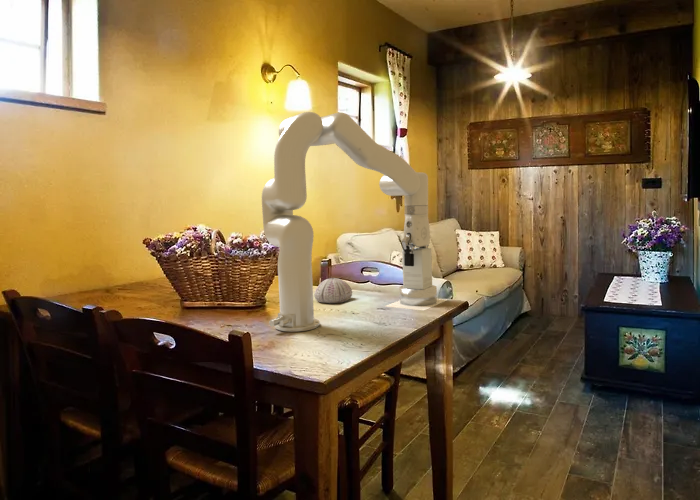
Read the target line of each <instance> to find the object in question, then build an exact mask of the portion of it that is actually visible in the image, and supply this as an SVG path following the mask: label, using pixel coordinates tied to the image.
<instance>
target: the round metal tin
mask: <svg viewBox="0 0 700 500" xmlns="http://www.w3.org/2000/svg"><path fill="white" fill-rule="evenodd" d="M437 288H438V287H437V286H436V285H433V284H432V286H431V287H428V288H425V289H412V288H403V285H401V286H399V300H400V304H403V305H407V306H429V305H434V304H436V303H437V299H438V296H437V294H438V293H437V291H438V289H437Z"/></svg>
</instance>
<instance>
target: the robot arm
mask: <svg viewBox="0 0 700 500" xmlns="http://www.w3.org/2000/svg"><path fill="white" fill-rule="evenodd" d="M278 136H279V137H278V140H277V143H276V144H275V149H274V153H273V158H274V159H273V161H274V162H273V164H274V166H273V170H274V171H273V172H274V177H273V178H270V179H269V180H268V181H267V182H266V183H265V184H264V186H263V188H262V191H261V210H262V212H261V213H262V225H263V233H264V237H265V239H266V241H268V243H269V244H270V245H272V246H274V247H277V248H279V252H278V256H277V276H278V277H277V279H278V281H277V282H278V297H279V298H278V299H279V302H278V303H279V312H278V313H277V317H276V318H272V319H270V320H269V321H268V325H269V327H272V328H273V327H274V328H275V329H276V330H277V331H281V332H287V333H292V332H293V333H294V332H297V333H298V332H305V331H310V330H311V331H312V330H314V329H316V328H318V327H320V320H318V319H317V318H315V314H314V313H315V312H314V311H315V310H314V290H313V289H314V287H313V286H314V285H313V266H312V264H313V262H312V258H313V256H312V255H313V246H314V245H313V244H314V238H315V237H314V228H313V226H312V224H311V223H310V221H309V220H308V219H306V218H305V217H303V216H301V215H297V214H294V211H296V210H299V209H301V208H302V207H303V206H304V205H305V204H306V202H307V196H308V195H307V176H306V157H307V153H308V151H309V149H310V147H319V146H327V145H328V146H329V145H332V144H333V145H334V144H335V145H336V146H337V147H339V149H341V151H343V153H344V154H346V155H347V156H348V157H349V158H350V160H352V161H353V162H354V163H355V164H356V165H357V166H360V167H361V168H365V169H367V170H371V171H375V172H378V173H380V174H383V175H382V176H381V178H380V179H379V183H378V185H379V189H380V191H381V192H382V193H383V194H384V195H387V196H389V197H390V196H391V197H396V196H397V197H399V196H404V203H403V204H404V225H403V239H401V244H402V250H404V251H403V252H404V265H405V266H414V254H412V253H413V251H414V248H429V246H430V243H431V235H430V231H431V230H430V223H429V222H430V221H429V176H428V174H427V173H426V172H422V171H421V172H417V171H416V170H415V169H414V168H413V167H412V166H411V165H410V164H409V163H408V162H407V161H406V160H405V159H404V158H403V157H401V156H400V155H398V154H396V153H395V152H393V151H391V150H389V149H387V148H386V147H384V146H382V145H380V144H379V143H377V142H376V141H375V140H374V139H373V138H372V137H371V136H370V135H369V134H368V133H367V132H366V131H365V130H364V129H363V128H362V127H361V126H360V125H359V124H358V123H357V122H356V121H355V120H354V119H353V118H352V117H351V116H349V115H348V114H347V113H344V112H335V113H331V114H328V115H324V116H320V115H319V114H318V113H316V112H314V111H306V112H305V111H304V112H301V113H298V114H295V115H291V116H290V117H287V118H285V119H284V120H283V121H281V123H280V124H279V127H278ZM410 248H411V249H410Z"/></svg>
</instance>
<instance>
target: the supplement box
mask: <svg viewBox="0 0 700 500" xmlns="http://www.w3.org/2000/svg"><path fill="white" fill-rule="evenodd" d="M410 249H411V248H410ZM403 251H404V250H403V249H402V250H401V253H402V254H401V255H402V283H403V285H402V286H403V288H412V289H425V288H428V287H431V286H432V285H433V263H432V261H433V259H432V247H428V248H419V247H415V248H414V251H413V253H412V254H414V266H405V265H404V252H403Z"/></svg>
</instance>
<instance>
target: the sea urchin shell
mask: <svg viewBox="0 0 700 500" xmlns="http://www.w3.org/2000/svg"><path fill="white" fill-rule="evenodd" d="M352 296H353V289H352V288H351V286H350V285H349V283H347V282H346V281H344V280H343V279H341V278H338V277H337V278H336V277H330V278H327V279H324V280H322V281H321V282H320V283H319V284H318V286H317V288H316V289H315V291H314V293H313V297H314V299H315V300H316V301H317V302H319V303H322V304H337V303H339V304H340V303H344V302H347V301H350V300H351V298H352Z"/></svg>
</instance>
